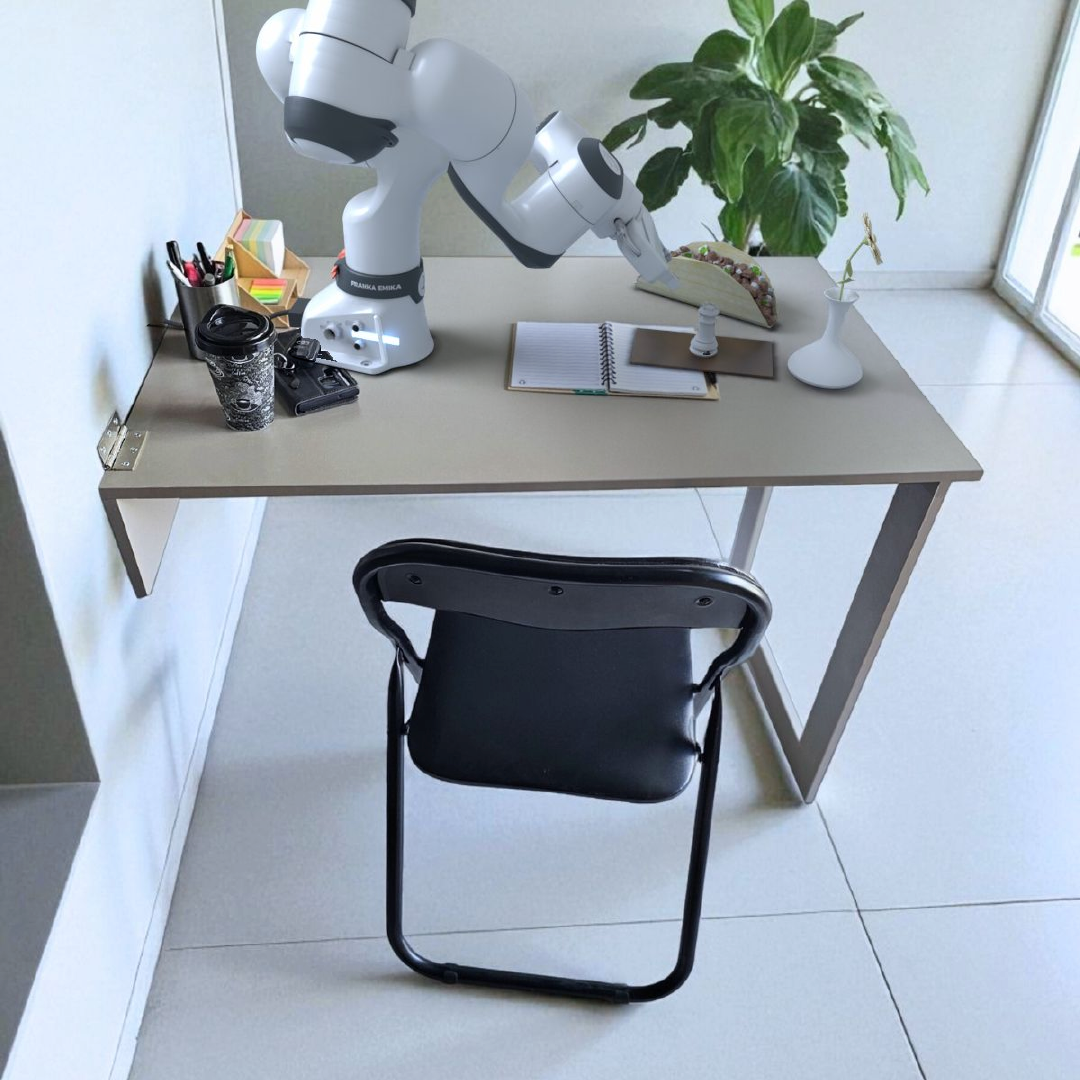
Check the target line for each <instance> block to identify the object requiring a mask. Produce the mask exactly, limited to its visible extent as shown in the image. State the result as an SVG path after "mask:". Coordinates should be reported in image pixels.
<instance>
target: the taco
mask: <svg viewBox="0 0 1080 1080" xmlns="http://www.w3.org/2000/svg"><path fill="white" fill-rule="evenodd" d="M667 250H668V251H669V252H670V254H671V257H672V259H671V261H669V262H668V263H667V265H668V269H669V270H670V271H671V272H673V273H674V274H675V275H676V276H677V277H678V278H679V281H680V286H679V287H678V288H676V289H675V290H674V291H671V290H670V289H669V288H668V287H667V286H666V285H665V284H664V283H662V282H660V281H659V280H657V281H655V282H654V283H652V284H650V283H648V282H647V281H645V280H644V279H643V278H642V276H641V275H640V274H639V275H638V276H637V278H636V280H633V284H634V285H636V288H638V289H639V290H643V291H645V292H649V293H652V294H656V295H659V296H663V297H665V298H669V299H672V300H675V301H679V302H682V303H684V304H689V305H691V306H692V305H693V306H695V307H698V308H700V307H701V306H702V303H703V304H704V302H707V305H710V302H713V305H714V304H715V303H716V304H717V306H718V310H719V311H720V313H719V314H721V315H723V316H724V315H725V316H728V317H731V318H734V319H738V320H741V321H744V322H748V323H751V324H754V325H757V326H760V327H764V328H767V329H771V328H772V327H774V325H776V323H777V322H778V321H777V318H778V307H779V306H778V302H777V299H776V296H775V295H776V294H775V291H774V290H775V289H774V287H773V285H772V282H771V280H770V278H769V276H768V275H767V273H766V271H765V270H764V269H763V267H761V266H760V265H759V263H758V262H757V261H756V260H755V259H754V258H753V256H752V255H750V254H748V253H746V252H744V251H742V250H740V249H738V248H737V247H735V246H733V245H732V244H730V243H727V242H726V241H703V240H701V241H700V240H698V241H693V242H690V243H687V244H686V245H681V246H679V248H677V249H675V250H670V248H669V249H667Z"/></svg>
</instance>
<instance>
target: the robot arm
mask: <svg viewBox="0 0 1080 1080" xmlns="http://www.w3.org/2000/svg"><path fill="white" fill-rule="evenodd" d="M416 8H417V0H308V3H307V6H306V9H305V8H301V7H300V8H299V7H291V8H285V9H283V10H280V11H278V12H276V13H274V14H273V15H271V16H270V17H269V18H268V19H267V20H266V22H264V24H263V25H262V27H261V28H260V31H259V34H258V36H257V39H256V45H255V47H256V48H255V57H256V63H257V65H258V69H259V71H260V73H261V75H262V77H263V79H264V81H265V82H266V84H267V85H268V87H269V88H270V90H271V91H272V92H273V94H274V95H275V97H276V98H277V99H278V100H279V101H280V102H281V103H282V104H283V114H282V115H283V116H282V121H283V123H282V124H283V130H284V132H285V135H286V138H287V140H288V142H289V144H290V145H291V147H292V148H293V150H294V151H295V152H296V153H297V154H298V155H302V156H304V157H307V158H309V159H312V160H315V161H319V162H322V163H326V164H329V165H333V166H343V167H352V168H361V169H369V170H375V171H376V173H377V185H375V186H373V187H370V188H367V189H365V190H363V191H361V192H359V193H358V194H355V195H354V196H353V197H352V198H350V199H349V201H348V202H347V203H346V205H345V206H344V209H343V212H342V216H341V217H342V219H341V220H342V230H343V232H342V233H343V242H344V243H343V244H344V248H343V249H342V250H341V251H340V253H338V256H337V260H336V261H335V262H334V264H333V268H332V269H331V272H330V274H331V280H334V279H335V280H334V281H333V282H332V283H330V284H329V285H327V286H326V287H324V288H323V289H322V290H320V291H319V292H318V293H316V294H315V295H314V296H313V297H312V298H308V297H307V298H305V297H297V298H296V300H295V302H294V303H293V305H291V307H290V308H288V309H283V310H280V311H275V312H273V313H271V314H269V315H268V316H269V317H270V321H271V320H273V319H276V318H279V317H283V316H287V318H288V319H287V320H288V327H289V328H295V329H299V328H301V336H302V337H303V338H310V339H316V340H318V341H319V342H320V345H321V351H328V352H329V353H330V355H331V356H332V357H333V360H336V361H337V362H335V361H331V360H326V359H321V358H316V361H315V362H314V363H318V364H322V365H326V366H331V367H335V368H341V369H345V370H349V371H354V372H358V373H362V374H367V375H377V374H381V373H384V372H386V371H389V370H390V369H394V368H399V367H404V366H408V365H412V364H414V363H417V362H420V361H422V360H424V359H426V358H427V357H428V356H429V355H430V354H431V353H432V352H433V350H434V347H435V342H434V340H433V337H432V334H431V331H430V326H429V324H428V318H427V313H426V308H425V302H424V298H425V293H426V276H425V275H426V273H425V267H424V259H423V258H422V256H421V219H422V211H423V207H424V204H425V200H426V198H427V196H428V194H429V192H430V190H431V189H432V187H433V186H434V184H436V183H437V181H438V180H440V179H441V178H442V177H443V176H444V175H445V174H447V176H448V178H449V180H450V183H451V184H452V186H453V188H454V190H455V191H456V192H457V194H458V195H459V197H460V198H461V199H462V201H463V202H464V203H465V204H466V205H467V207H468V208H469V209H470V210H471V211H472V212H473V214H474V215H475V216H476V217H477V218H479V220H480V221H481V222H482V223H483V224H484V225H485V226H486V227H487V228H488V229H489V230H490V231H491V232H492V233H493V234H494V235H495V236H496V237H497V238H498V239H499V240H500V241H501V242H502V243H503V245H504V246H505V248H506V249H507V251H508V252H509V254H510V255H511V256H512V258H514V259H515V260H516V261H517V262H518V263H520V264H521V265H523V266H524V267H525V268H527V269H531V270H544V269H546V270H547V269H551V268H552V267H553V266H554V265H555V264H556V263H557V262H558V261H559V260H560V259H561V257H563V255H564V254H565V253H566V252H567V250H569V248H570V247H572V245H574V244H575V243H576V242H577V241H578V240H580V239H581V238H582V237H583V236H584V235H585V234H586V233H587V232H588V231H589V230H590V231H591V232H592V233H593V234H594V235H595V236H596V237H597V239H600V240H605V239H607V238H610V240H611V241H616V244H617V247H618V249H619V251H620V252H621V254H622V255H623V256H624V258H625V259H626V260H627V261H628V263H629V264H630V265H631V266H632V267H633V269H634V270H635V271H636V272H637V273H638V274H639V275H641V276H642V278H643V279H644V280H645V281H647V282H648V283H650V284H652V283H654V282H655V281H657V280H659V281H660V282H662V283H664V284H665V285H666V286H667V287H668V288H669V289H670V290H671V291H674V290H675V289H676V288H678V287H679V286H680V281H679V278H678V277H677V276H676V275H675V274H674V273H673V272H671V271H670V270H669V269H668V265H667V263H668V262H669V261H671V259H672V257H671V254H670V252H669V251H668V249H667V248H666V246H665V245H664V242H663V241H662V239H660V237H659V234H658V231H657V227H656V224H655V221H654V219H653V216H652V215H651V213H650V211H649V210H648V208H647V207H646V206H645V204H644V203H643V201H644V194H643V192H642V191H640V189H639V188H638V187H637V186H636V184H634V182H633V181H632V180H631V179H630V178H629V176H627V174H625V172H624V168H623V166H622V164H621V162H620V161H619V160H618V159H617V157H615V155H614V154H613V153H612V152H611V150H609V148H608V147H607V146H606V145H605V144H604V142H603V141H602V140H601V139H600V138H594V137H592V135H591V134H589V133H588V131H587V130H585V128H584V127H582V126H581V124H579V123H578V122H577V121H576V120H574V119H573V118H572V117H571V116H569V115H568V114H567V113H566V112H564V111H563V110H557V111H556V110H555V111H553V112H551V113H550V114H548V115H547V117H545V118H544V119H543V120H542V121H541V122H540V123H539V124H538V125H537V117H536V112H535V108H534V105H533V103H532V101H531V98H530V97H529V96H528V94H527V93H526V92H525V90H524V89H523V88H522V87H521V85H519V84H518V82H517V81H516V80H515V79H514V78H513V77H512V76H511V75H510V74H508V73H507V72H506V71H505V70H504V69H502V68H501V67H500V66H498V65H497V64H496V63H494V62H492V61H491V60H490V59H489V58H487V57H486V56H483V55H482V54H480V53H478V52H477V51H475V50H473V49H472V48H470V47H467V46H465V45H463V44H460V43H458V42H455V41H452V40H450V39H447V38H441V37H434V38H428V39H425V40H423V41H420V42H418V43H417V44H415V45H414V46H412V48H410V50H406V49H407V47H408V46H407V45H408V39H409V34H410V28H411V20H412V18H413V17H415V15H416V10H417V9H416ZM528 160H529V163H531V164H532V166H533V167H534V168H535V170H536V171H537V173H538V174H539V175H540V176H539V177H538V178H537V179H536V180H535V181H534V182H533V183H532V184H531V185H530V186H529V187H528V188H526V190H524V191H523V192H522V193H521V194H520V195H519V196H517V197H516V198H514V199H513V200H511V201H509V200H508V199H507V198H506V197H505V193H506V191H507V190H508V188H509V186H510V185H511V183H512V182H513V181H514V179H515V178H516V176H517V175H518V173H519V172H520V171H521V170H522V169H523V167H524V165H525V164H526V163H527V162H528ZM162 318H163V317H162ZM159 323H160V324H165V325H168V326H171V327H175V328H179V329H184V328H183V325H182V323H183V322H177V321H174V320H171V319H167V318H163V322H159ZM318 355H322V354H318Z"/></svg>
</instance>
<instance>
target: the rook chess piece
mask: <svg viewBox="0 0 1080 1080" xmlns="http://www.w3.org/2000/svg"><path fill="white" fill-rule="evenodd" d="M698 312H699V314H700V317H699V318H698V321H699V324H698V328H697V330H696V333H695V334H696V335H695V336H694V338H693V339H692V341H691V346H690V351H691V352H692V353H693V354H694V355H696V356H698V357H703V358H708V357H712V356H714V355H715V354H716V353H717V351H718V350H717V347H718V343H717V341H716V337H715V336H716V330H715V329H716V323H717V321H718V320H717V316H718V315H719V314H721V313H720V311H719V310H718V306H717V304H716V303H715V304H714V305H713V302H710V305H707V302H704V304H703V303H702V306H701V307H698ZM707 351H710V352H711V354H710V355H703V353H704V352H707Z"/></svg>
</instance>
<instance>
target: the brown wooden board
mask: <svg viewBox="0 0 1080 1080" xmlns="http://www.w3.org/2000/svg"><path fill="white" fill-rule="evenodd" d="M635 331H636V332H635V336H634V343H633V347H632V352H631V357H630V363H629V364H631V365H640V366H648V367H658V368H665V369H668V368H669V369H677V370H684V371H685V370H686V371H693V372H694V371H695V372H705V373H712V374H714V373H715V374H722V375H723V374H724V375H731V376H732V375H733V376H741V377H749V378H750V377H751V378H759V379H768V380H773V379H774V361H773V357H774V356H773V342H772V341H767V340H759V339H758V340H757V339H748V338H738V337H729V336H720V335H718V336H717V335H715V337H716V341H717V343H718V347H717V350H718V351H717V353H716V354H715V355H714V356H712V357H708V358H703V357H698V356H696V355H694V354H693V353H692V352H691V351H690V346H691V341H692V339H693V338H694V336H695V335H696V334H697V333H692V332H691V333H690V332H681V331H672V330H663V329H662V330H661V329H651V328H642V327H637V328H636V330H635Z"/></svg>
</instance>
